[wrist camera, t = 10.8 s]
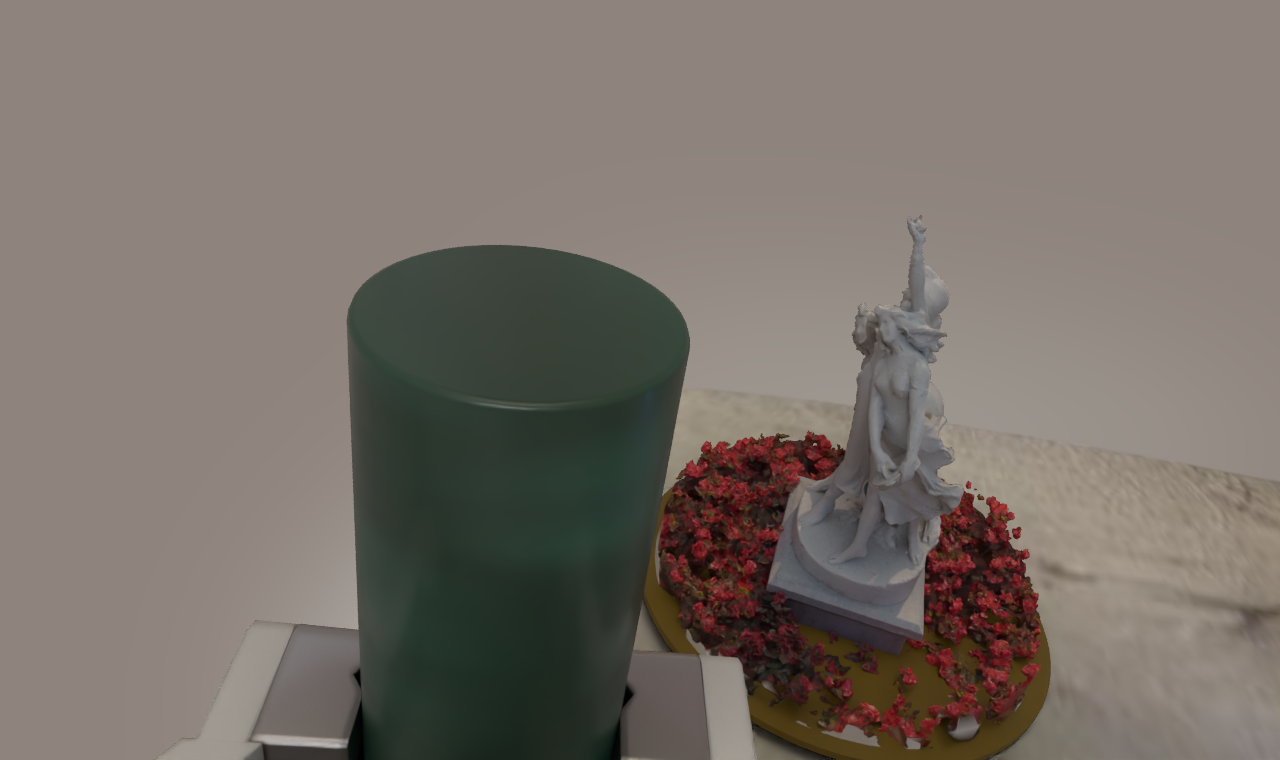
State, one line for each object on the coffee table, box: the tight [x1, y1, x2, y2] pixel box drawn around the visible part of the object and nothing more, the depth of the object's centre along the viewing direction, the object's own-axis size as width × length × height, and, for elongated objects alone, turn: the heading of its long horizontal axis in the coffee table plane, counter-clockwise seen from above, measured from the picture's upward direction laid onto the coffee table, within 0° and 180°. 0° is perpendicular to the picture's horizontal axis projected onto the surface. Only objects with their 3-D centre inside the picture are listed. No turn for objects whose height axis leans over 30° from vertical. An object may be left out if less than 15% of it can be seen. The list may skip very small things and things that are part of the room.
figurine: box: [643, 215, 1051, 760], centre depth 29 cm, size 15×15×14 cm
